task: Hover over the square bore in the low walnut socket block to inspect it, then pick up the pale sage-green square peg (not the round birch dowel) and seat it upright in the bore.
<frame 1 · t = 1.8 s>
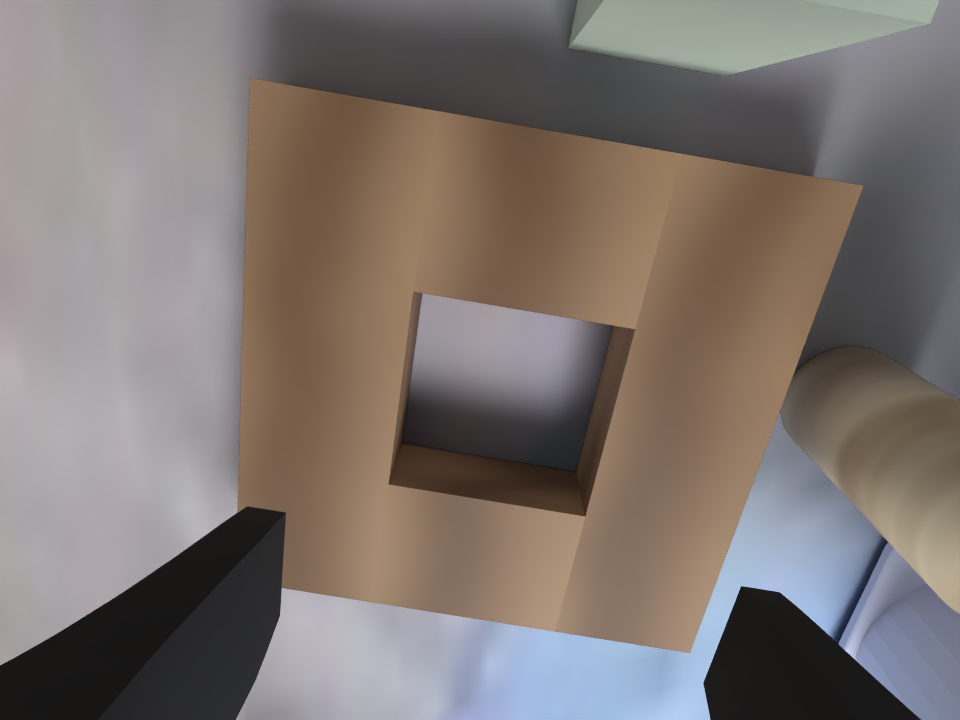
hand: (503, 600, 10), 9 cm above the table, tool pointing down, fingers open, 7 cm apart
birch dowel: (840, 401, 18), on the table
socket block: (505, 377, 18), on the table
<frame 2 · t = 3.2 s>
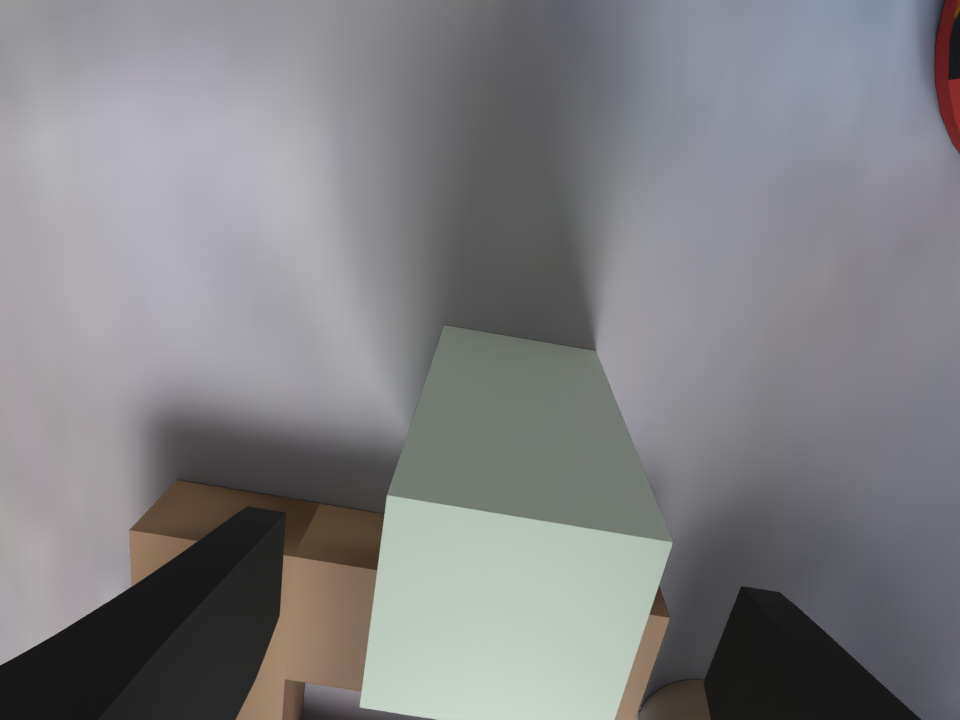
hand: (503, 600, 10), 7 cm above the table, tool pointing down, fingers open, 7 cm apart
birch dowel: (692, 719, 20), on the table
square peg: (506, 407, 17), on the table
socket block: (388, 695, 20), on the table
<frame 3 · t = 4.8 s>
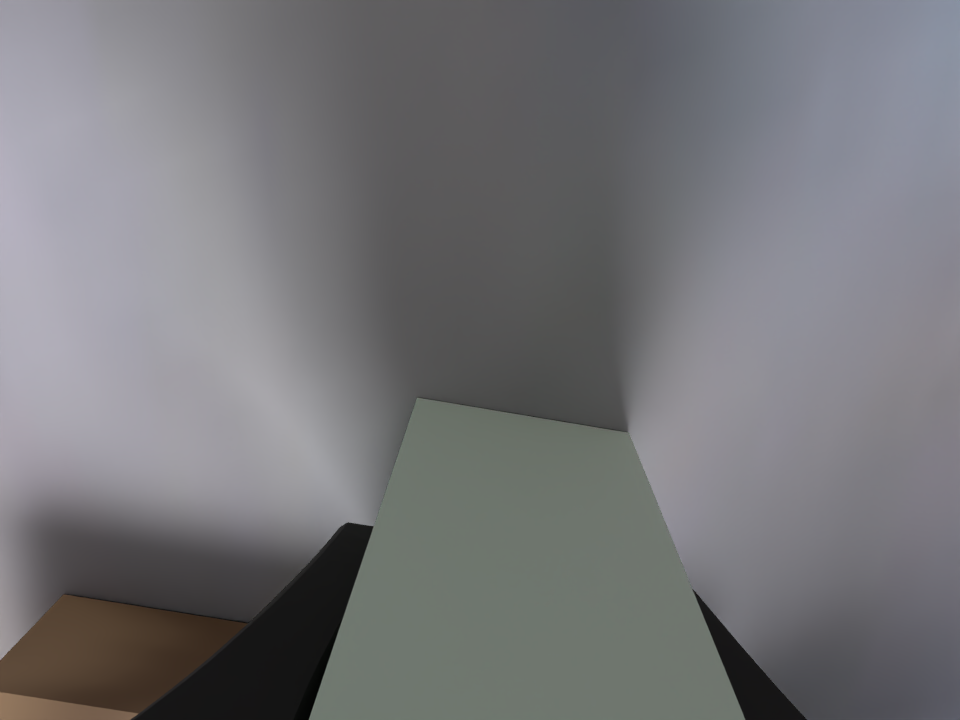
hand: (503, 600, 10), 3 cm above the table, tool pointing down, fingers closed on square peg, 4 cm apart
square peg: (504, 505, 12), on the table, touching gripper
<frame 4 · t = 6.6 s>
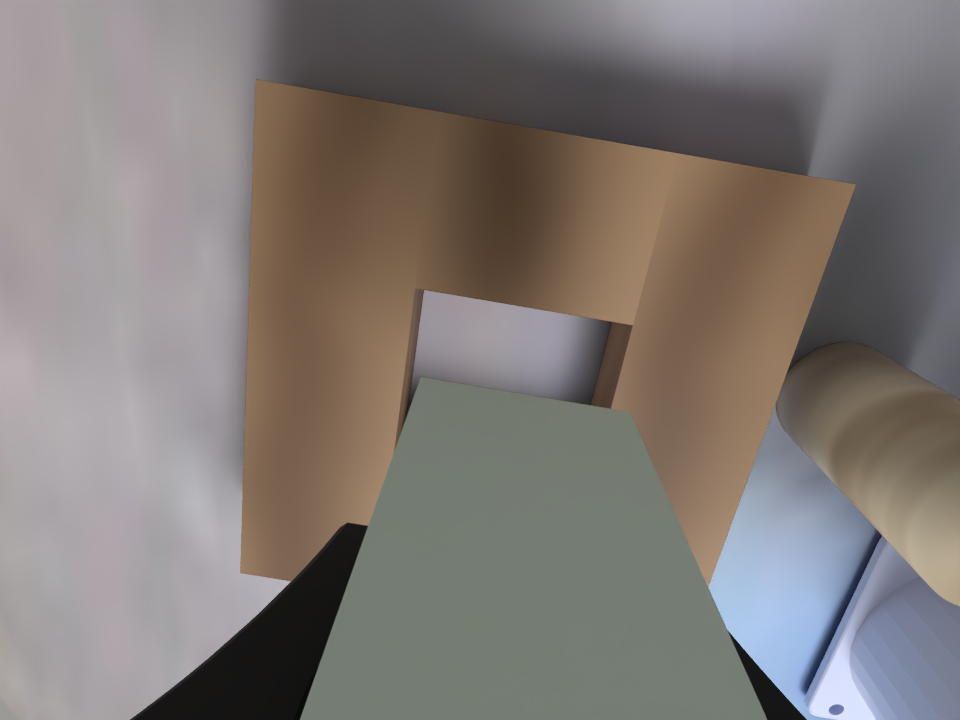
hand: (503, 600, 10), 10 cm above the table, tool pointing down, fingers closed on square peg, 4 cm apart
birch dowel: (835, 397, 19), on the table
square peg: (506, 485, 12), point 7 cm above the table, touching gripper
socket block: (505, 373, 19), on the table
when the fingers open (4 cm above the table, at t = 8.7 s): square peg drops 1 cm, resting in socket block.
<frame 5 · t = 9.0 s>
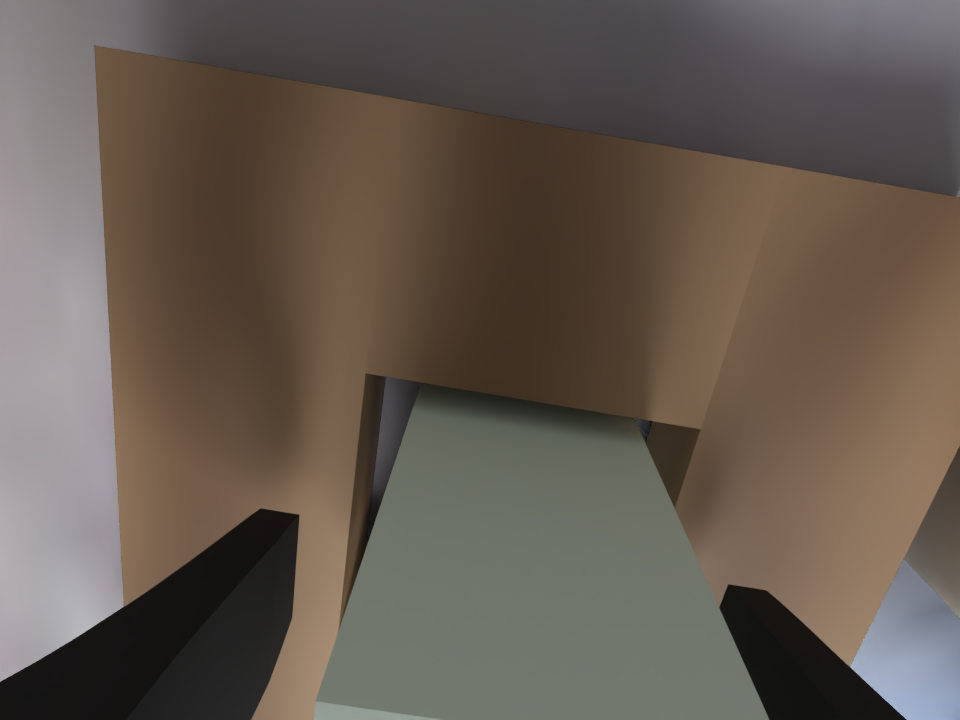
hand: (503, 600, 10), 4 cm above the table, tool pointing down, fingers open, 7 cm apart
square peg: (509, 460, 13), resting in socket block
socket block: (504, 471, 13), on the table
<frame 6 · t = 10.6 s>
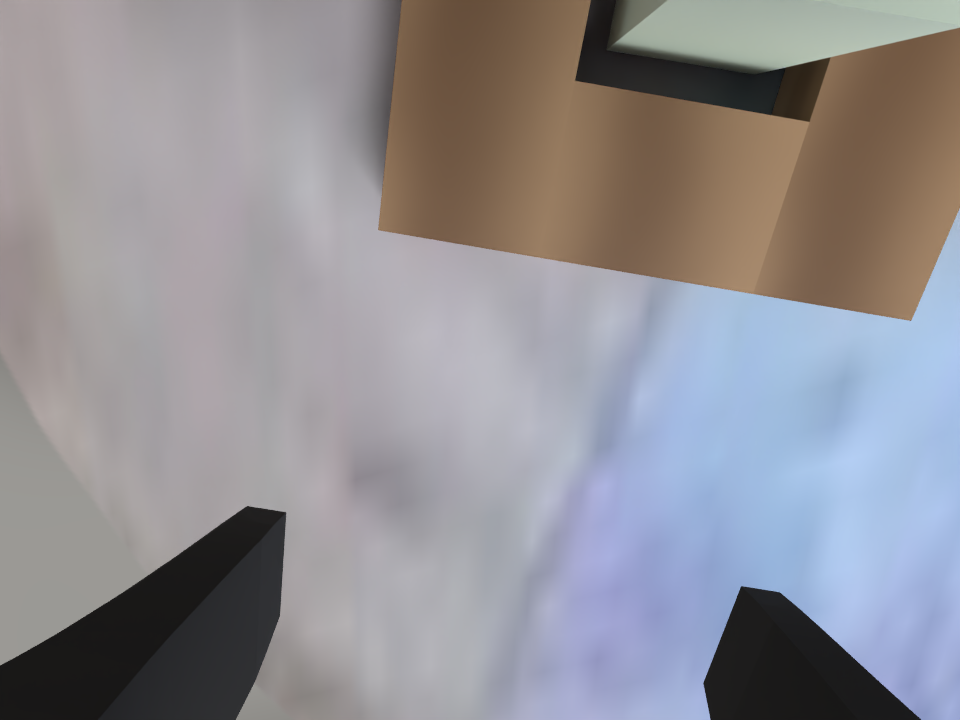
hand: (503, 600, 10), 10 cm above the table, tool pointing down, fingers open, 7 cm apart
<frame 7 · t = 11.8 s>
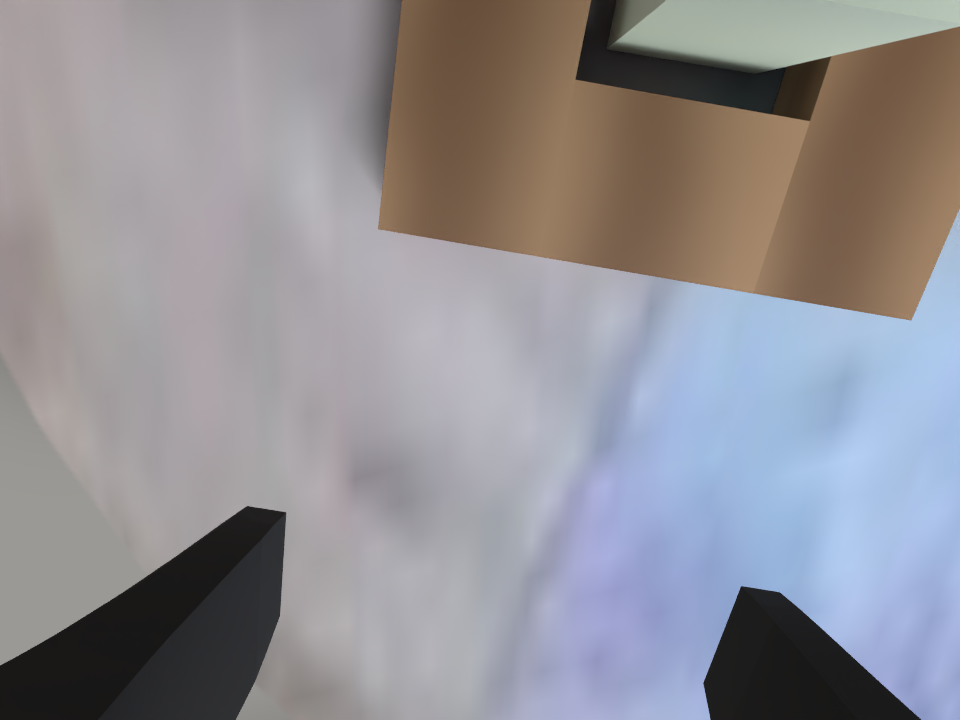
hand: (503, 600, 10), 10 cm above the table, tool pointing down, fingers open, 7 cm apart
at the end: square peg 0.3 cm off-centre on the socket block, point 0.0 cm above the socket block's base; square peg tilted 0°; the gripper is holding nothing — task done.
